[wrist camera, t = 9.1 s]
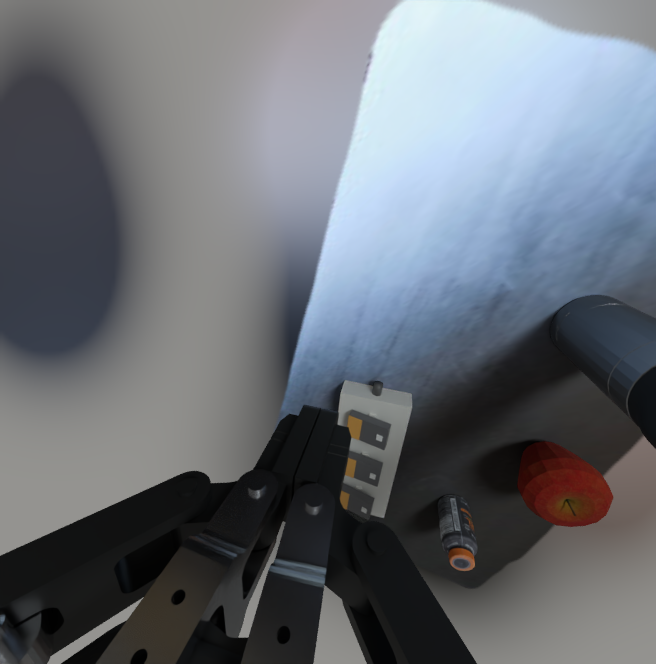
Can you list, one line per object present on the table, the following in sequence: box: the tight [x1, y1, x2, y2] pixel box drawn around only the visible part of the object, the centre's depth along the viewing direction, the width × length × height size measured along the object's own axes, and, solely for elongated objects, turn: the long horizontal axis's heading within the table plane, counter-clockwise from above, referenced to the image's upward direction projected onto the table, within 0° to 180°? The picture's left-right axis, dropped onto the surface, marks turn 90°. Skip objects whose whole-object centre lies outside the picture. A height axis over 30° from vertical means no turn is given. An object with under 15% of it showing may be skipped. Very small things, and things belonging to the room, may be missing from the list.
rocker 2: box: [345, 451, 383, 487], centre depth 55 cm, size 7×4×2 cm, turn 85°
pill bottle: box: [438, 495, 477, 571], centre depth 57 cm, size 6×6×11 cm
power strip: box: [338, 380, 412, 518], centre depth 58 cm, size 12×30×4 cm, turn 175°
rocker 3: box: [340, 483, 375, 520], centre depth 59 cm, size 7×4×2 cm, turn 85°
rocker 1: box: [347, 409, 391, 450], centre depth 52 cm, size 7×4×2 cm, turn 85°
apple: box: [517, 441, 613, 527], centre depth 47 cm, size 11×11×12 cm
